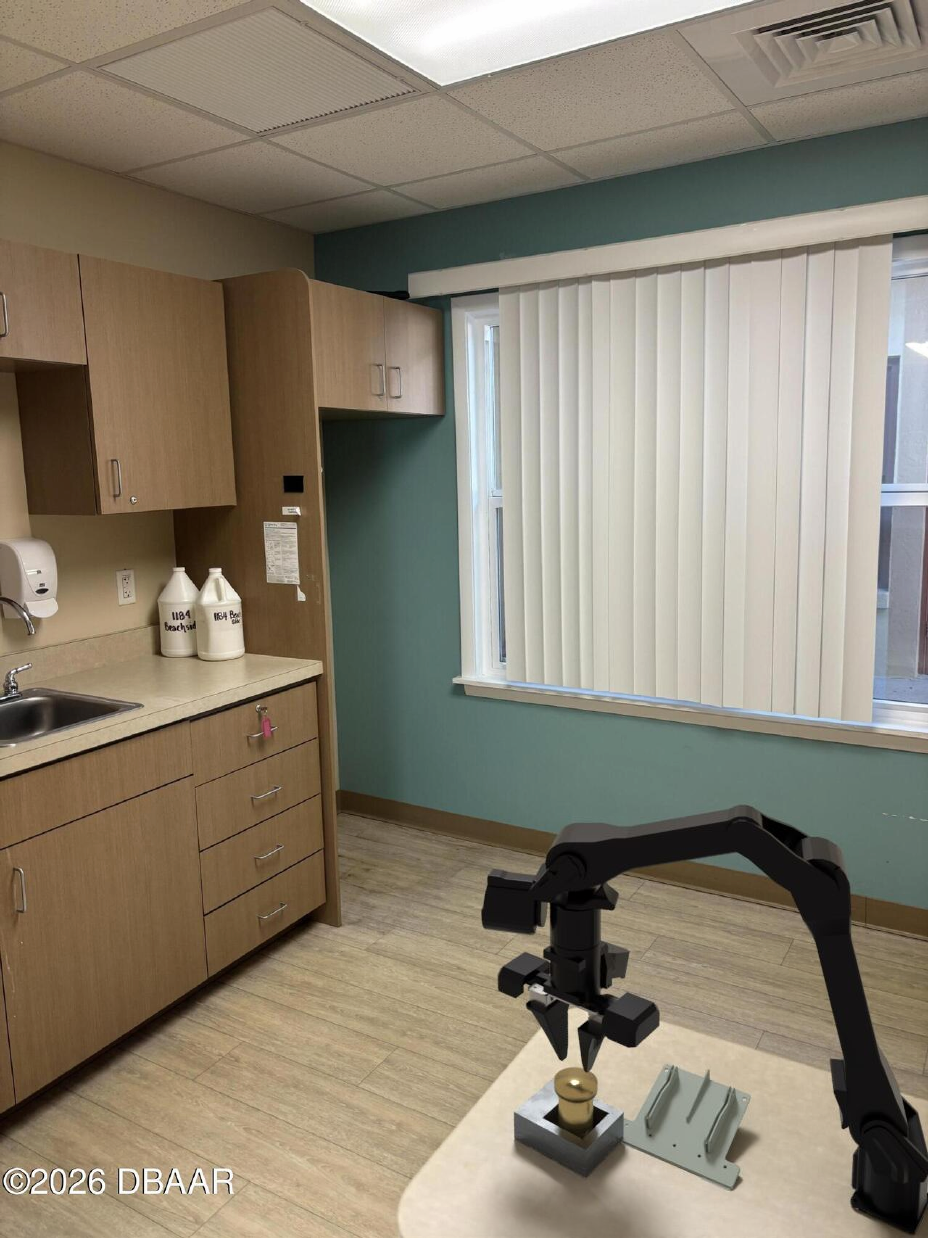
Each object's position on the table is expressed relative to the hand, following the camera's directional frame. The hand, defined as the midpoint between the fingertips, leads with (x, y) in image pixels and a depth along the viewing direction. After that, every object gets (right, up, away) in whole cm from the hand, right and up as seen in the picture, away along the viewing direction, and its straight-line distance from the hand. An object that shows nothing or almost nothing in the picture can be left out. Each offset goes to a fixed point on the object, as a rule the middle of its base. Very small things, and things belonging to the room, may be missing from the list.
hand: (575, 1064), depth 109 cm
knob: (0, -10, +2) cm, 10 cm away
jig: (0, -10, +2) cm, 10 cm away
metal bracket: (+14, -10, +3) cm, 17 cm away
